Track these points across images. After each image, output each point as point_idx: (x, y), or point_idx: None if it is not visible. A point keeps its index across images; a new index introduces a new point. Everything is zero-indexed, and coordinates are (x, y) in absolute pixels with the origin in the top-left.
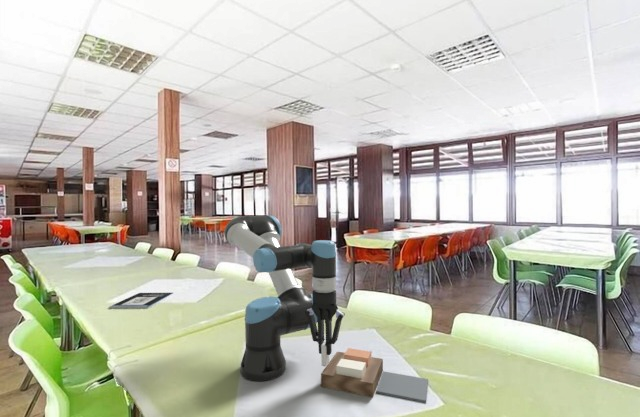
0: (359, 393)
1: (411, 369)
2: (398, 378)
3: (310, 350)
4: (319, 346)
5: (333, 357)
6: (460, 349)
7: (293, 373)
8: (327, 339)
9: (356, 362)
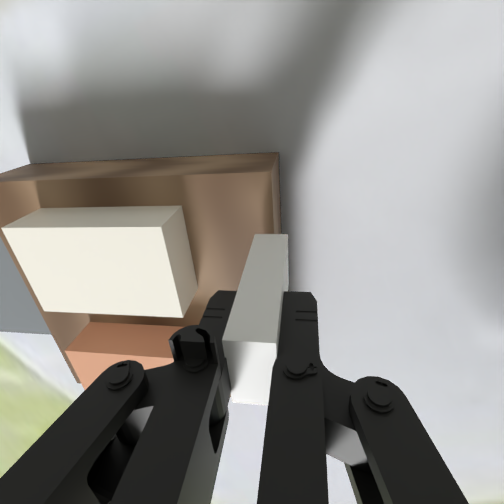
0: (82, 162)
1: (39, 369)
2: (24, 308)
3: (440, 416)
4: (308, 338)
5: None
6: (4, 465)
7: (484, 220)
8: (179, 407)
9: (83, 299)
